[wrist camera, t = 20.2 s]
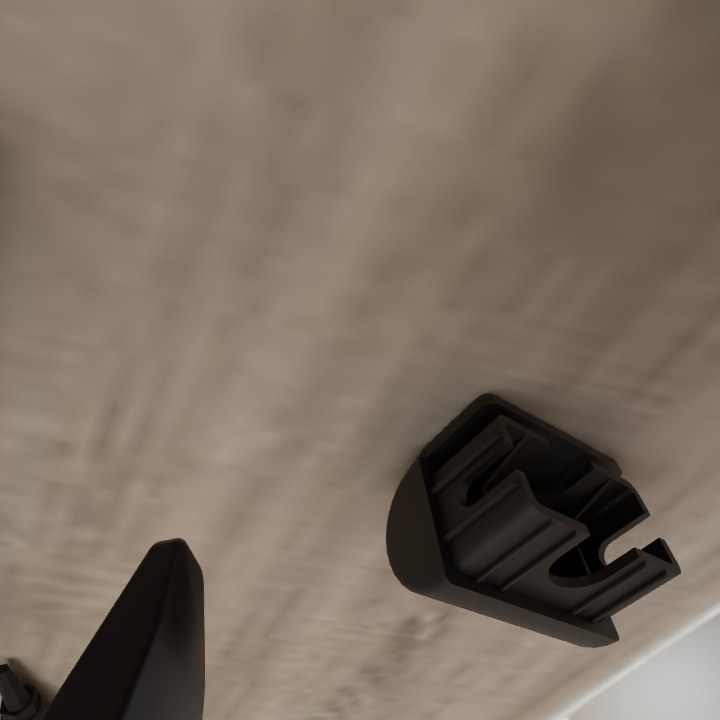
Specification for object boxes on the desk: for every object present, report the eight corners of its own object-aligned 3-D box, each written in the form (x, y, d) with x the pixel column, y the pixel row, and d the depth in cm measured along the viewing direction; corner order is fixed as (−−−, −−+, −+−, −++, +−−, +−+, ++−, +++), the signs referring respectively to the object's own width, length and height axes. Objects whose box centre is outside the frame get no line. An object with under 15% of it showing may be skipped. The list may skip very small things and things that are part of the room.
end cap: (373, 483, 29) (394, 622, 23) (477, 384, 25) (528, 520, 20) (522, 543, 33) (567, 673, 28) (627, 466, 30) (701, 595, 25)
